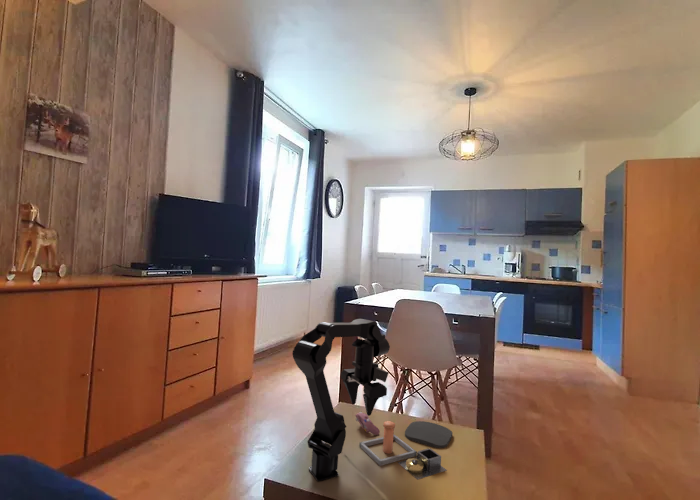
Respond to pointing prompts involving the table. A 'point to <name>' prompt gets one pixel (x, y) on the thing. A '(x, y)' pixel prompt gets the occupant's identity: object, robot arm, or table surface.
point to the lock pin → (388, 436)
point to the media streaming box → (429, 434)
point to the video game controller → (367, 423)
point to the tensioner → (423, 464)
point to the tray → (384, 461)
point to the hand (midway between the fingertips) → (361, 409)
